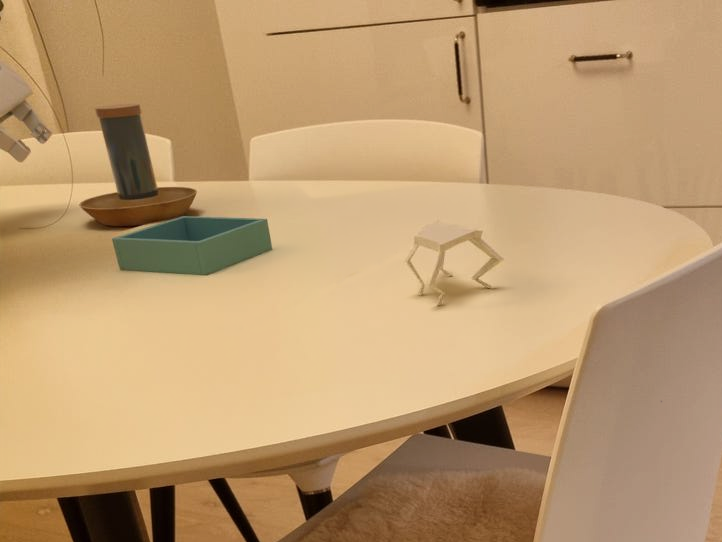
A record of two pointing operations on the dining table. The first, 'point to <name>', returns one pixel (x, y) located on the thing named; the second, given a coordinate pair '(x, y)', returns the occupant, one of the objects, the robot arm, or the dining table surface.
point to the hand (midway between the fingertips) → (37, 148)
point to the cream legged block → (445, 238)
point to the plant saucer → (139, 207)
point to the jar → (127, 151)
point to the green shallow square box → (192, 245)
